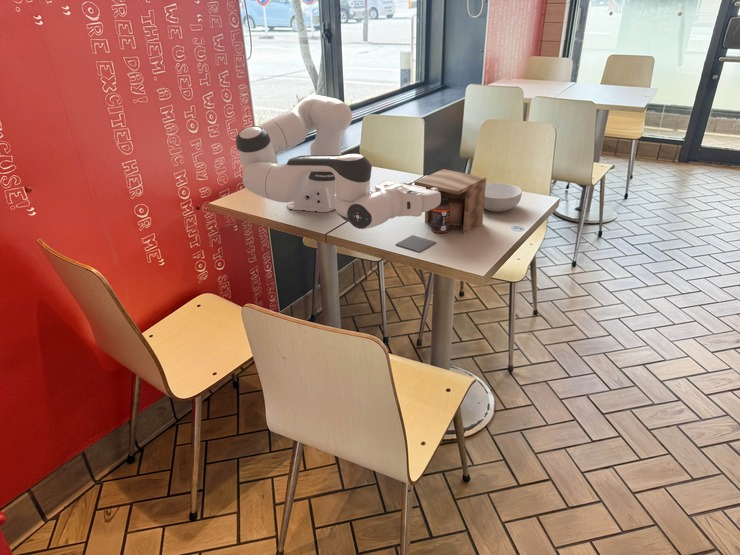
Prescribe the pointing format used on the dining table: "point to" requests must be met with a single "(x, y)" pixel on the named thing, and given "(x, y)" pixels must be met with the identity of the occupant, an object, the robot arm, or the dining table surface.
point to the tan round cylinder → (456, 212)
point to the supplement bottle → (441, 217)
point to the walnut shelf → (459, 194)
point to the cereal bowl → (501, 196)
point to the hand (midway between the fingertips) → (422, 187)
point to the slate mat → (415, 243)
